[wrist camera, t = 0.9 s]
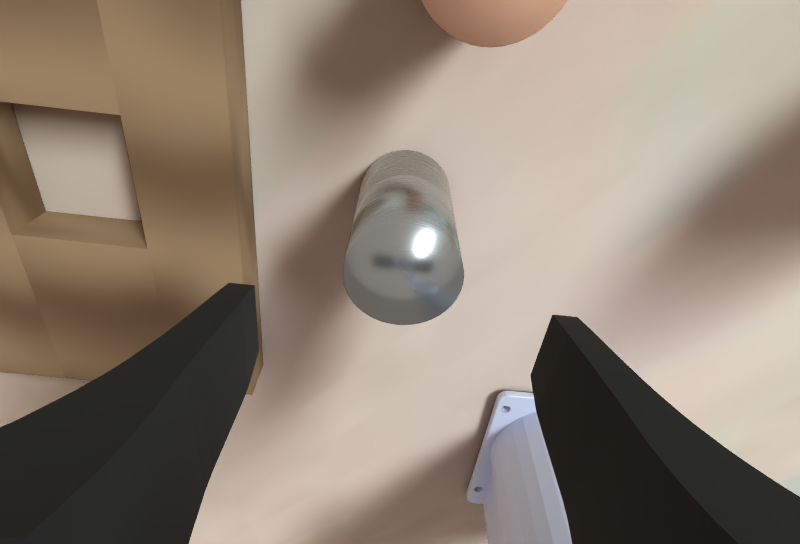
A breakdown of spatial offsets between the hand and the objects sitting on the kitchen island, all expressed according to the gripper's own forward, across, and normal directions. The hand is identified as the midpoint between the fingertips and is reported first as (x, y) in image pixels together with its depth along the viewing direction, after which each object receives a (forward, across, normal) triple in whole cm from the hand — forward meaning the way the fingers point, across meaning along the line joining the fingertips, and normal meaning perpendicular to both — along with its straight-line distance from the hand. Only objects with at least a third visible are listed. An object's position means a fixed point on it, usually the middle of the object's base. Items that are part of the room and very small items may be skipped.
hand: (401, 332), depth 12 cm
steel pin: (+8, 0, 0) cm, 9 cm away
